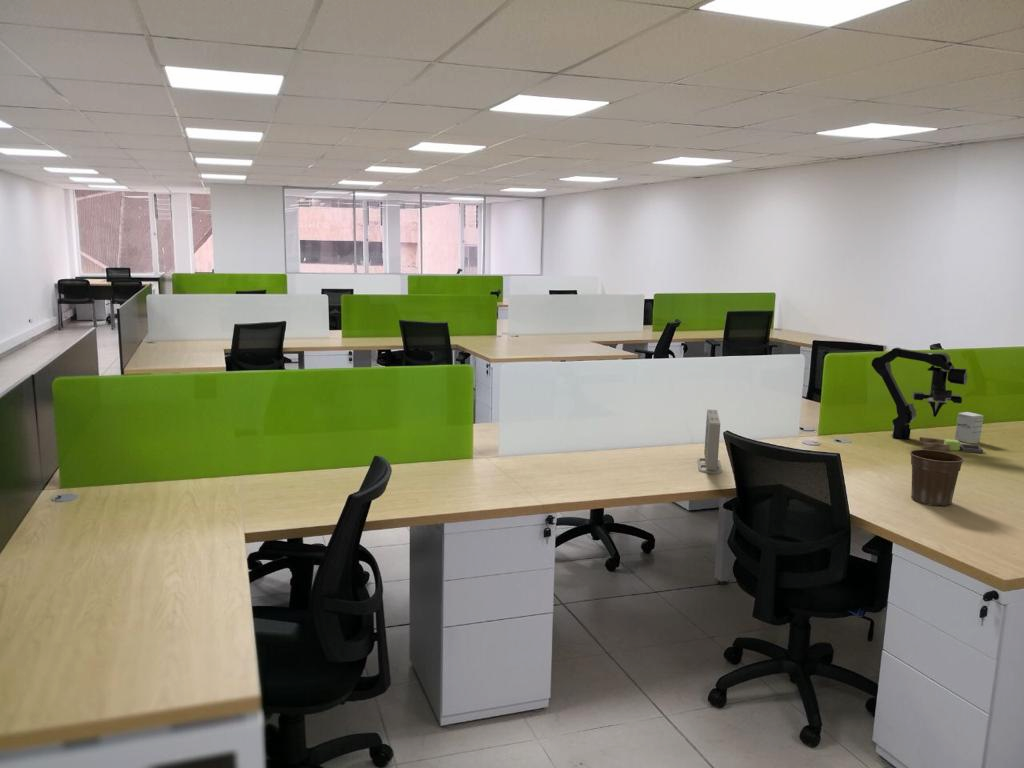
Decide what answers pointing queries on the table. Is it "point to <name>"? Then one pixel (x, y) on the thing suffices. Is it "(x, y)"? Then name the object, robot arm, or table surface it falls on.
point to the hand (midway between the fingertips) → (934, 416)
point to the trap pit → (971, 448)
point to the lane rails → (934, 444)
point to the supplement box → (969, 427)
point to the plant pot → (934, 476)
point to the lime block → (952, 444)
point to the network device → (711, 444)
